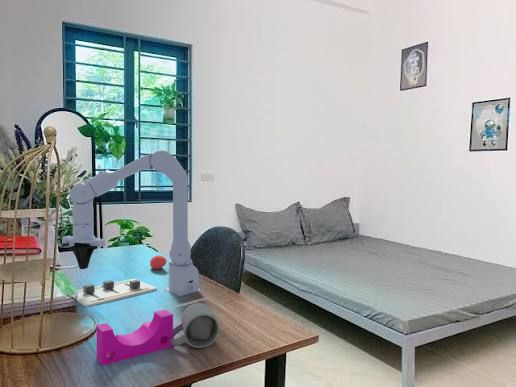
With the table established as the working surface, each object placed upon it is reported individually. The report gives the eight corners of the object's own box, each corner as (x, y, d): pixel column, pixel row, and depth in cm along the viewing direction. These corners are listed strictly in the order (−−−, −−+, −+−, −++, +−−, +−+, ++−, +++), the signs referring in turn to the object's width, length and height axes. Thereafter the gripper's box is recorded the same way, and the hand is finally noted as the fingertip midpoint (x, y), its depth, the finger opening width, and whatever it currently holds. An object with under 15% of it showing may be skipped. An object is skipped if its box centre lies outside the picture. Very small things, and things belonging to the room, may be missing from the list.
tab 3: (140, 287, 121) (140, 281, 121) (132, 289, 119) (132, 282, 119) (136, 285, 123) (136, 279, 122) (129, 287, 121) (129, 281, 121)
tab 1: (94, 292, 116) (94, 285, 116) (86, 293, 114) (86, 287, 114) (91, 290, 117) (91, 284, 117) (83, 292, 116) (83, 285, 116)
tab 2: (113, 287, 120) (113, 281, 120) (106, 289, 119) (106, 283, 118) (110, 286, 122) (110, 280, 122) (103, 287, 120) (103, 281, 120)
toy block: (160, 337, 91) (160, 306, 90) (173, 347, 86) (173, 314, 85) (93, 356, 81) (92, 321, 81) (102, 369, 76) (102, 331, 76)
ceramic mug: (211, 327, 94) (211, 296, 92) (219, 345, 86) (219, 312, 85) (166, 334, 90) (165, 303, 89) (170, 354, 83) (169, 320, 81)
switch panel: (156, 292, 122) (156, 287, 122) (85, 310, 106) (85, 304, 106) (134, 282, 131) (134, 277, 131) (65, 298, 115) (65, 292, 115)
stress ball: (153, 275, 141) (153, 258, 140) (148, 269, 149) (148, 252, 148) (167, 273, 143) (167, 256, 143) (161, 267, 151) (161, 251, 151)
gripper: (112, 223, 118) (112, 267, 119) (74, 220, 123) (75, 262, 124) (95, 226, 112) (95, 273, 112) (56, 223, 117) (57, 268, 117)
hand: (83, 268), depth 118 cm, fingers closed
